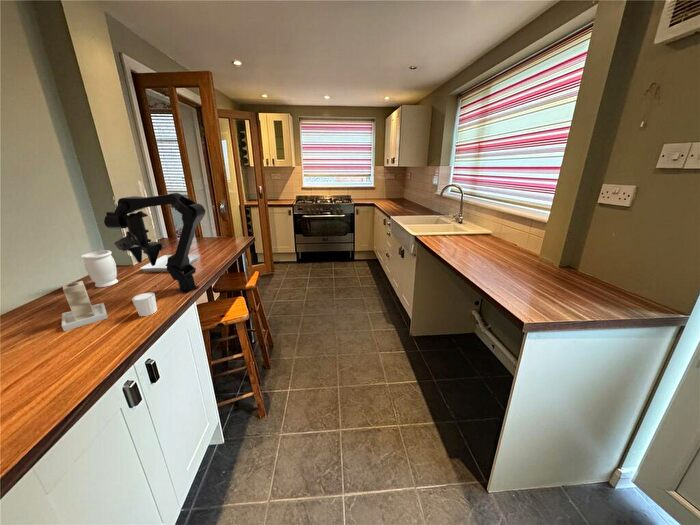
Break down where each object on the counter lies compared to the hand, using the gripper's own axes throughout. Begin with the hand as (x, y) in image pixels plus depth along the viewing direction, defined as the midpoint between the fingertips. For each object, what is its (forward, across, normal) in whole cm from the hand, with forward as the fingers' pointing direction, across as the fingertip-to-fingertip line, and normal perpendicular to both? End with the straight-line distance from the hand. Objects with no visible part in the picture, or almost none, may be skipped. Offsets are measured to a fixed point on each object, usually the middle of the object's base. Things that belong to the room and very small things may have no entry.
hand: (146, 264), depth 120 cm
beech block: (+11, +2, -25) cm, 28 cm away
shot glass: (+12, +19, -14) cm, 26 cm away
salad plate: (+13, -21, +23) cm, 34 cm away
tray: (+12, +2, -25) cm, 28 cm away
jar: (+12, -27, -4) cm, 30 cm away
